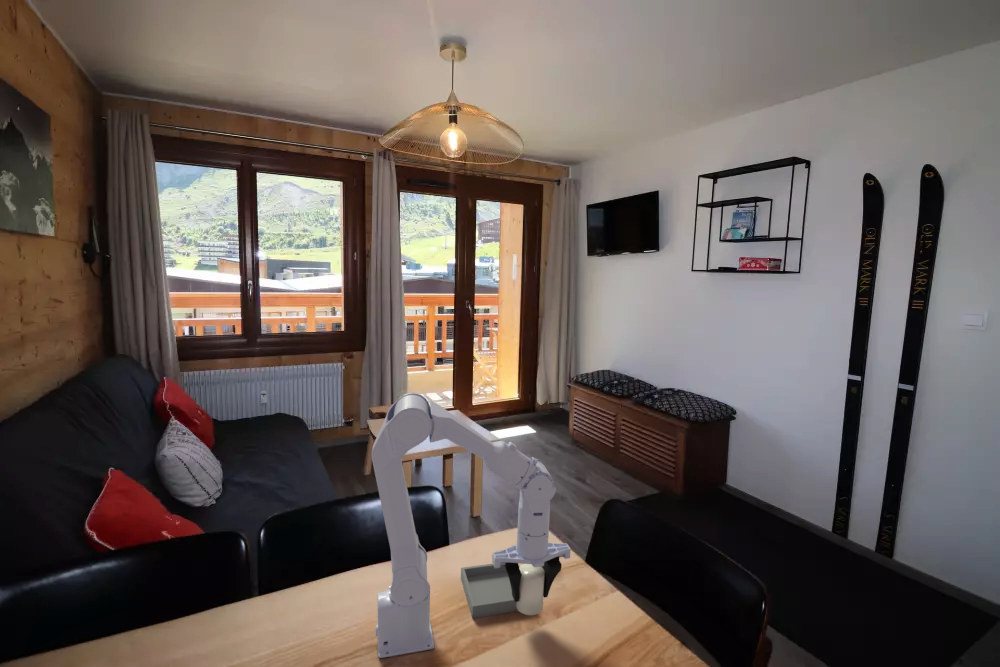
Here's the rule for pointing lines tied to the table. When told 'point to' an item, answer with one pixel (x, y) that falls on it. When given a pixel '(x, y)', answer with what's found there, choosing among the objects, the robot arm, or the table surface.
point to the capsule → (531, 590)
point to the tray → (487, 590)
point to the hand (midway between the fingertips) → (529, 596)
